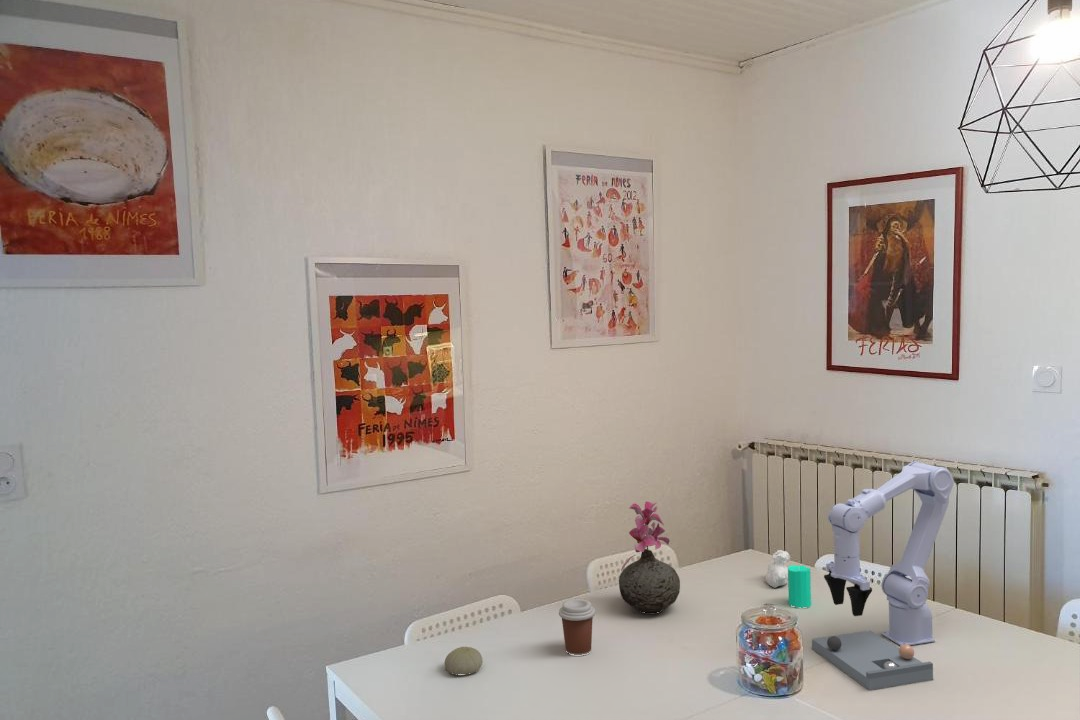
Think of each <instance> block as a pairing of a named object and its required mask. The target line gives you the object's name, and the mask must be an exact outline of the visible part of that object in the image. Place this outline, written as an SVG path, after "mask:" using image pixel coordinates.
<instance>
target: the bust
mask: <svg viewBox="0 0 1080 720" xmlns="http://www.w3.org/2000/svg"><path fill="white" fill-rule="evenodd" d="M772 558H773V559H772V561H771V562H770V563H769V564H768V567H767V572H766V574H765V578H764V579H765V582H766V583H767V585H768V586H769V585H770V586H769V587H772V588H775V589H777V587H780V586H785V585H787V584H788V567H787V566H786V563H788V562H790V561H791V555H790V554H789V553H788V551H786V550H782V549H778V550H777V551H775V552H774V553H773V554H772Z"/></svg>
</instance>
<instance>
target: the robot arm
mask: <svg viewBox="0 0 1080 720" xmlns="http://www.w3.org/2000/svg"><path fill="white" fill-rule="evenodd" d="M954 484H955V480H954V478H953V476H952V474H951V472H950V470H949V469H948V468H947V467H943V466H937V465H932V464H928V463H923V462H921V461H917V460H916V461H915V460H914V461H912V462H909V463H908V464H907V465H903V467H902V469H901V472H900V473H897V474H896V475H895V476H893V477H892V478H891V479H889V480H888V481H887V482H886V483H883V484H882V485H881V486H879V488H876V489H875V488H864V489H862V490H861V493H859V494H858V495H856V496H855V497H853V498H849V499H847V501H846V502H845V503H836V504H835V505H834V506H832V508H831V509H830V511H829V514H827V519H828V522H829V524H830V525H831V529H832V532H833V561H834V562H830V563H826V564H825V570H826V572H827V573H828V574H824V575H823V579H824V580H825V581H826V584H827V585H828V588H829V590H830V594H831V598H832V602H833V605H835V606H837V605H838V606H839V605H843V604H844V600H845V588H846V591H847V594H848V596H849V599H850V605H851V612H852V613H851V614H852V616H854V617H860V616H863V613H864V609H865V606H866V604H867V603H866V602H867V601H868V598H869V596H870V595H871V593H872V592H873V588H872V587H871V582H870V581H869V580H868V579H866V577H865V576H864V575H863V573H861V567H860V566H861V562H860V559H861V558H860V556H861V555H860V552H861V551H860V531H861V530H862V529H863V527H864V525H865V524H866V522H867V521H868V519H870V518H871V517H873V516H875V515H877V514H878V513H880V512H881V511H883V510H884V509H885V507H886V502H888V501H890V500H892V499H894V498H896V497H898V496H900V495H902V494H903V493H906V492H907V491H909V490H911V489H912V491H914V492H915V493H916V495H917V496H918V498H919V499H920V501H921V506H920V508H919V511H918V514H917V517H916V520H915V523H914V524H913V527H912V530H911V533H910V536H909V538H908V541H907V544H906V546H905V549H904V551H903V554H902V557H901V560H900V561H898V562H896V563H894V564H891V565H890V567H889V570H888V572H887V573H886V574H885V575H884V576H883V577H882V580H881V589H882V592H883V594H884V595H885V596H886V600H887V601H888V630H886V631H881V636H883V637H885V638H887V639H888V640H890V641H892V642H894V643H895V644H897V645H899V647H900V646H901V645H904V644H907V645H910V646H913V645H914V646H915V645H922V644H928V643H934V642H936V640H935V638H934V637H933V614H932V610H931V608H930V606H929V604H928V603H926V602H927V600H928V597H929V586H930V584H931V581H930V579H929V577H928V576H927V574H926V572H925V568H926V567H927V566H926V565H927V563H928V561H929V558H930V555H931V552H932V550H933V547H934V545H935V541H936V538H937V536H938V534H939V531H940V528H941V526H942V522H943V520H944V518H945V515H946V511H947V509H948V507H949V501H950V495H951V492H952V489H953V487H954ZM909 577H910V578H909ZM847 582H849V583H851V584H852V585H853V586H846V584H847Z"/></svg>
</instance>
